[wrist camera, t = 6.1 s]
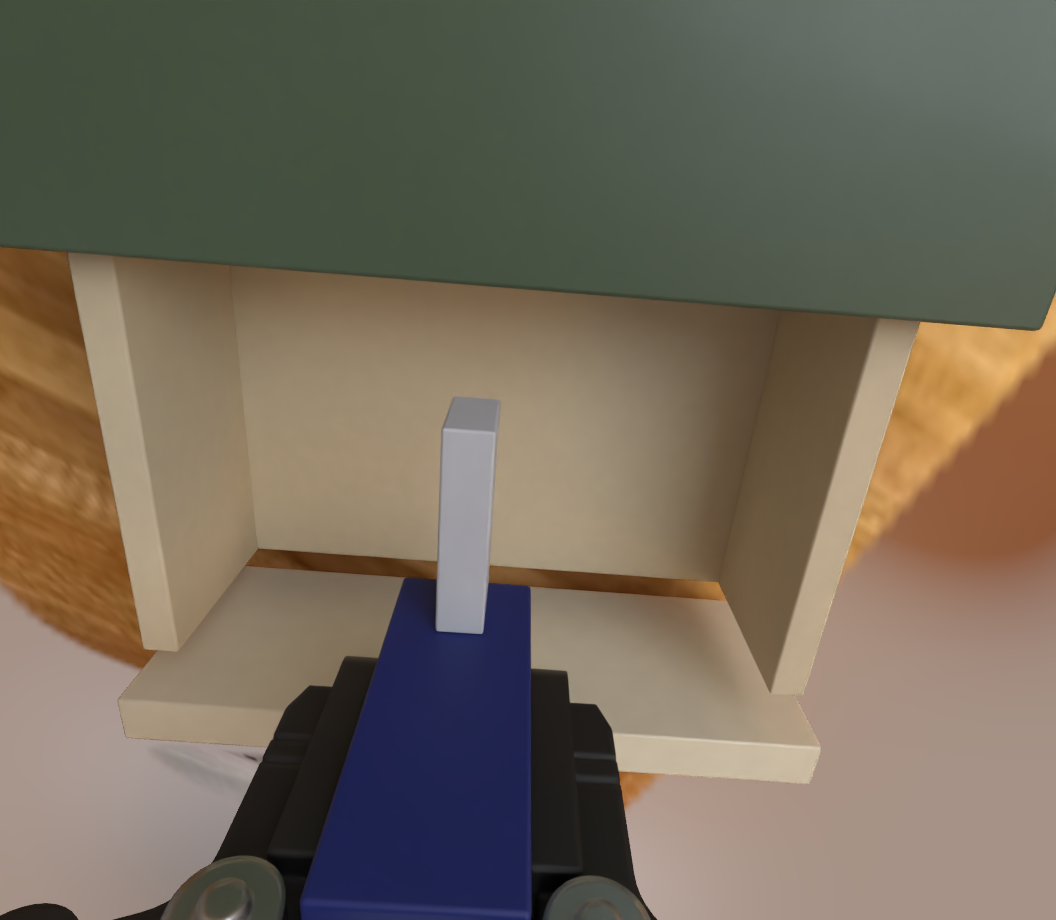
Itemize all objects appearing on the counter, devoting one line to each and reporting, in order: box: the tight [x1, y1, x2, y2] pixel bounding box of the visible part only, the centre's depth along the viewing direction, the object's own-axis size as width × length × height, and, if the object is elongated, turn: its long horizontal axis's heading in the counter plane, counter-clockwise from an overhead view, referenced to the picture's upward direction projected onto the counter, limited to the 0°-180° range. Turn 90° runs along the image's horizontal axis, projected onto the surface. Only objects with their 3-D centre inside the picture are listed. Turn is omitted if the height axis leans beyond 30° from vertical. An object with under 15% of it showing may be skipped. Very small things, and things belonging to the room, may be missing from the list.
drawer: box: [67, 252, 920, 784], centre depth 16 cm, size 18×16×6 cm
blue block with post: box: [300, 396, 532, 920], centre depth 9 cm, size 2×7×6 cm, turn 175°
